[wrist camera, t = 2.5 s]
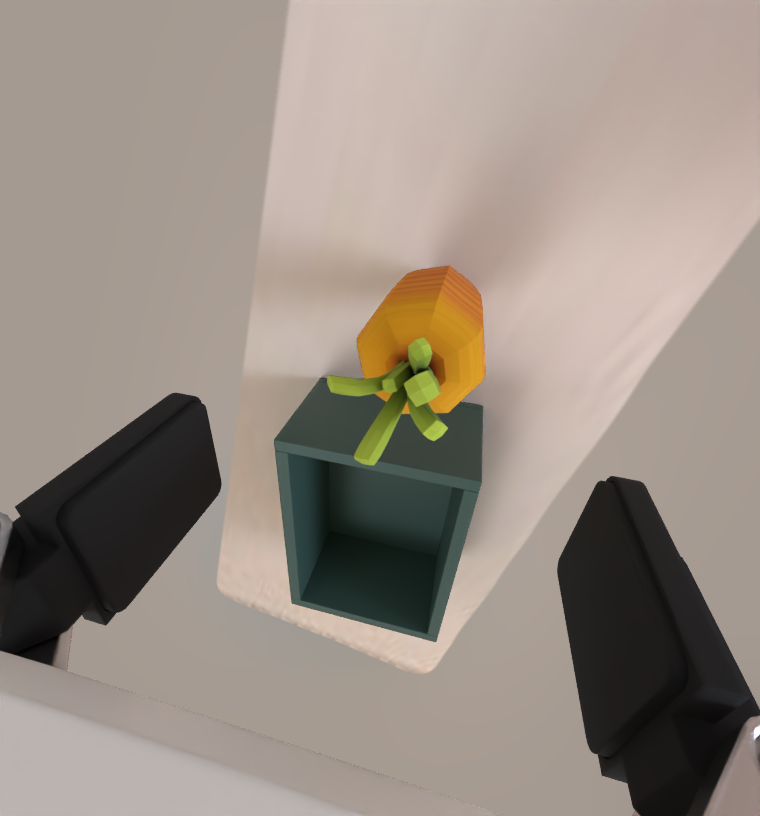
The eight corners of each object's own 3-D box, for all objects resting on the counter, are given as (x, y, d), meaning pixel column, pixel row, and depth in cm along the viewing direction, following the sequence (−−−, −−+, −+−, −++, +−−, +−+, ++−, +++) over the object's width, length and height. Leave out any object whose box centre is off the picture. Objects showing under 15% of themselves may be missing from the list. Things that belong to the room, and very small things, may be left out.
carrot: (428, 337, 25) (369, 516, 13) (387, 267, 23) (272, 393, 11) (503, 300, 23) (522, 473, 10) (464, 219, 21) (431, 309, 9)
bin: (320, 377, 28) (273, 439, 22) (483, 405, 26) (482, 482, 20) (323, 529, 37) (291, 603, 31) (445, 557, 36) (436, 642, 29)
